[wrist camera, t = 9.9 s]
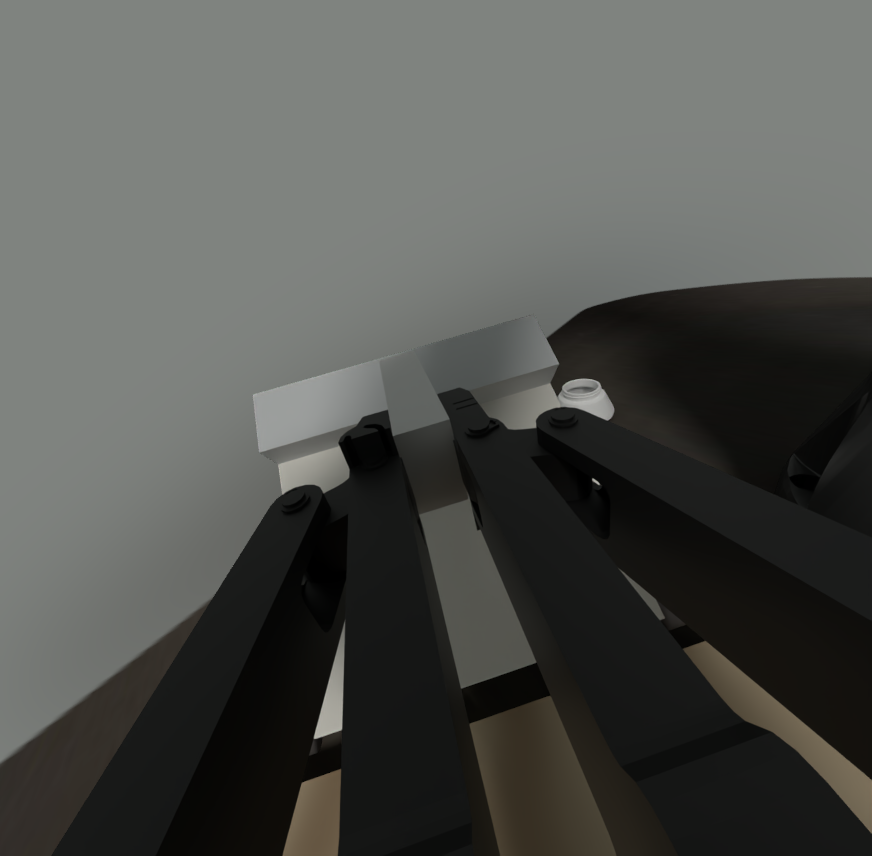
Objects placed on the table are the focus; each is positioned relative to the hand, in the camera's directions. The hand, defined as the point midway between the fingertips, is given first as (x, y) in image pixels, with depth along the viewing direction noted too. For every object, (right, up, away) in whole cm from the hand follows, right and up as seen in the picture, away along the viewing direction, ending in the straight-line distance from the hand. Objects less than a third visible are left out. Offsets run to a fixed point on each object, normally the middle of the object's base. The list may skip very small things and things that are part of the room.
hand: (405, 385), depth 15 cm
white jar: (+14, -1, +17) cm, 22 cm away
